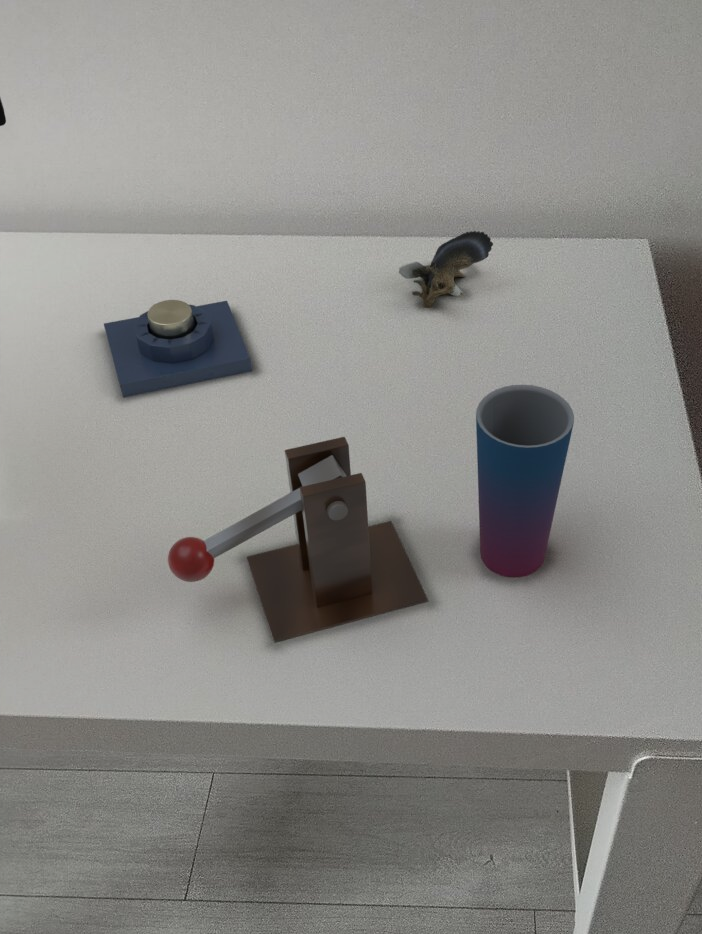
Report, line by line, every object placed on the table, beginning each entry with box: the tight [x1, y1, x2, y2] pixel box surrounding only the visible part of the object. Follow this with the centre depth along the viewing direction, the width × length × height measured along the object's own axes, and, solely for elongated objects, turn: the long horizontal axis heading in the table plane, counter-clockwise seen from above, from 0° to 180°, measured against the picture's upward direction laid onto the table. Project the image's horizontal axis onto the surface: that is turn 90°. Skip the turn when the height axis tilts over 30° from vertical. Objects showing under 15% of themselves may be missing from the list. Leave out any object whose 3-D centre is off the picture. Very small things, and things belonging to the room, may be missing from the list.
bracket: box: [245, 436, 429, 644], centre depth 77 cm, size 12×9×13 cm
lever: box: [167, 455, 346, 583], centre depth 73 cm, size 14×3×3 cm, turn 111°
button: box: [147, 299, 195, 340], centre depth 97 cm, size 4×4×2 cm
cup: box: [475, 384, 575, 578], centre depth 78 cm, size 7×7×15 cm
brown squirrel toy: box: [398, 230, 494, 308], centre depth 106 cm, size 8×7×9 cm
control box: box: [103, 300, 253, 398], centre depth 98 cm, size 12×10×4 cm
